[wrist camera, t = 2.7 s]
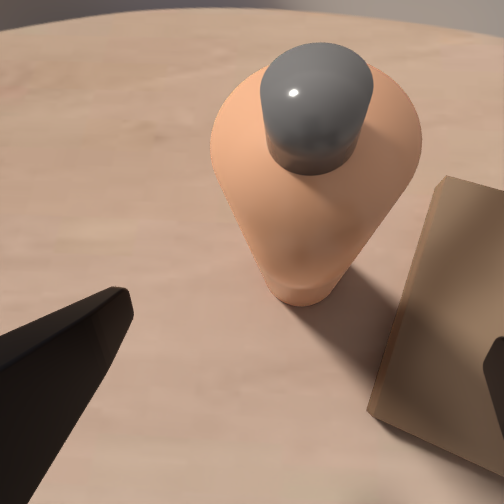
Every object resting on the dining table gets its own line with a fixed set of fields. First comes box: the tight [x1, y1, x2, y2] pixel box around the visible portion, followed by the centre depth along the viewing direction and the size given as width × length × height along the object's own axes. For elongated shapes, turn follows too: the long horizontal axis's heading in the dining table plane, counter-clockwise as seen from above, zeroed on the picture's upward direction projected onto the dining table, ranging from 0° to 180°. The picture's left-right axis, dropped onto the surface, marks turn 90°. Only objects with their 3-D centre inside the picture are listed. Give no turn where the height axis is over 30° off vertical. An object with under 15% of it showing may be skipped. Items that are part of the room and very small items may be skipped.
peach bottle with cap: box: [210, 43, 422, 306], centre depth 12 cm, size 5×5×14 cm
